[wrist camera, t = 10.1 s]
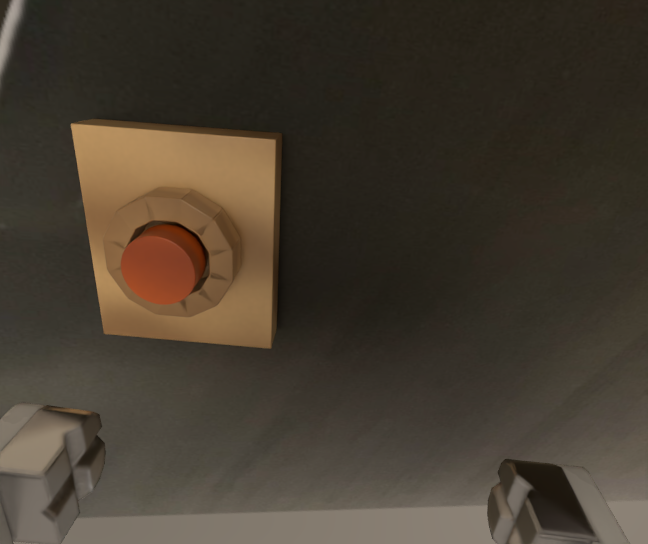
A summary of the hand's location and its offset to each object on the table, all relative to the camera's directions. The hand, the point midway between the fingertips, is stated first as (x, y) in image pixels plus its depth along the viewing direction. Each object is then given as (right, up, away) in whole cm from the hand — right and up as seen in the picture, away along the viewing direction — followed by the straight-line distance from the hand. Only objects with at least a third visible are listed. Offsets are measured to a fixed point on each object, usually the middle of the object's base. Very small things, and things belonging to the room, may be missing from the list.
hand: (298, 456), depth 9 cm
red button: (-7, +4, +14) cm, 16 cm away
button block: (-7, +6, +17) cm, 19 cm away
